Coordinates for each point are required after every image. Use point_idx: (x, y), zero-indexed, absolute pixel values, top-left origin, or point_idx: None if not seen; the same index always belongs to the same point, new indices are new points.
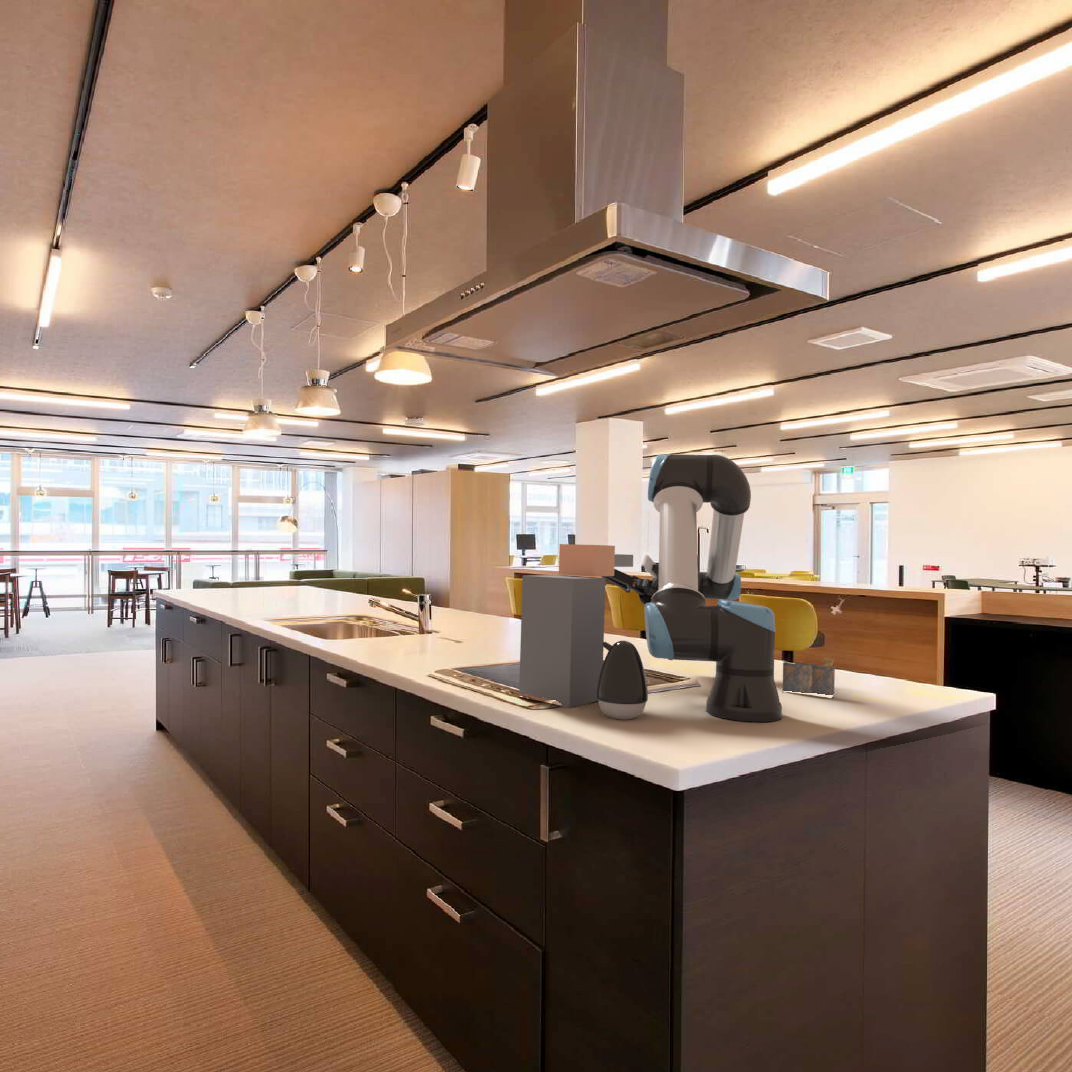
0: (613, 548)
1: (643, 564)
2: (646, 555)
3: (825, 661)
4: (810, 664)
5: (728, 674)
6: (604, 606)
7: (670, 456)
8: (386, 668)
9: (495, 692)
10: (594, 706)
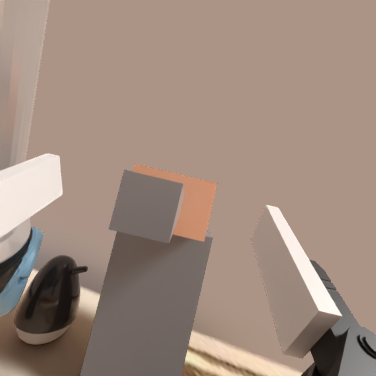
0: (135, 169)
1: (57, 192)
2: (53, 156)
3: None
4: None
5: None
6: (110, 257)
7: None
8: None
9: (210, 369)
10: (79, 360)
